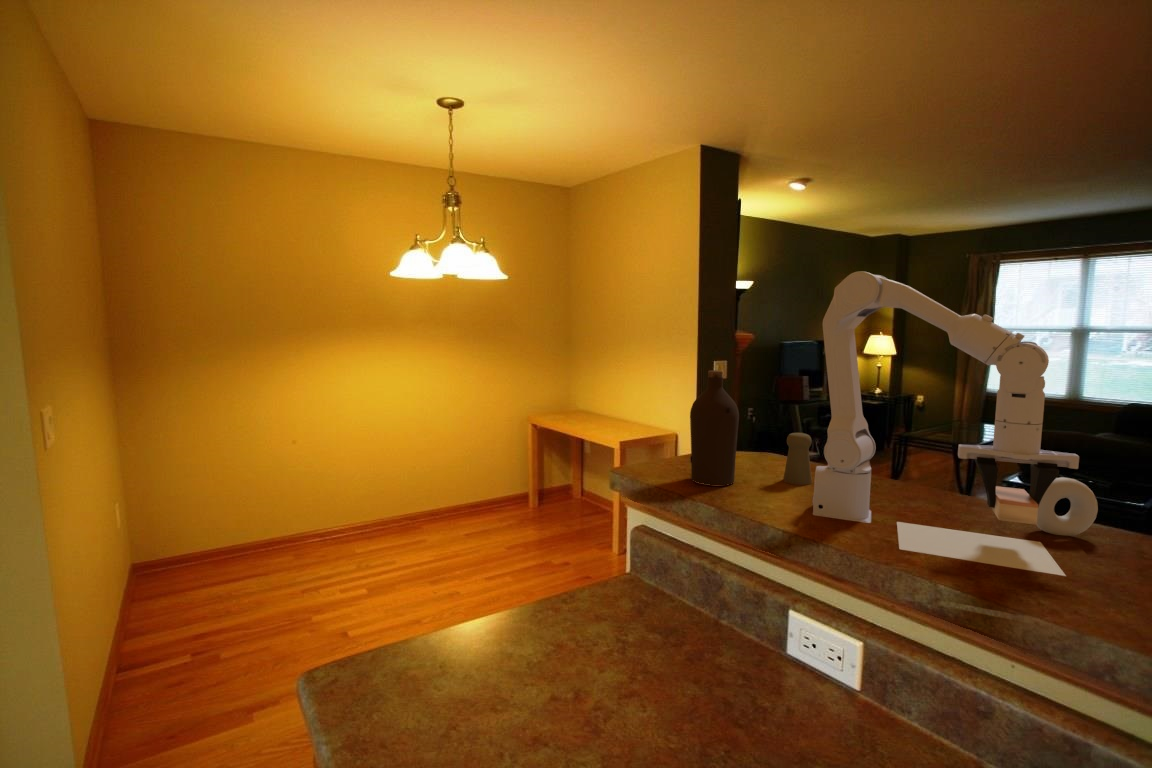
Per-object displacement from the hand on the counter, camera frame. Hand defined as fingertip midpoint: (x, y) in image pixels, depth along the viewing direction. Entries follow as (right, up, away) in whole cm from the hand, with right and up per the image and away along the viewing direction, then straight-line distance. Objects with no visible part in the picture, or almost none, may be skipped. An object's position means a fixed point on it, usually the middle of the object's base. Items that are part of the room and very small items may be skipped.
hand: (1011, 508), depth 87 cm
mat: (-5, -7, +1) cm, 9 cm away
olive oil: (-37, -3, +40) cm, 55 cm away
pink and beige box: (0, -1, 0) cm, 1 cm away
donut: (+14, -6, +7) cm, 17 cm away
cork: (-17, -3, +40) cm, 44 cm away
